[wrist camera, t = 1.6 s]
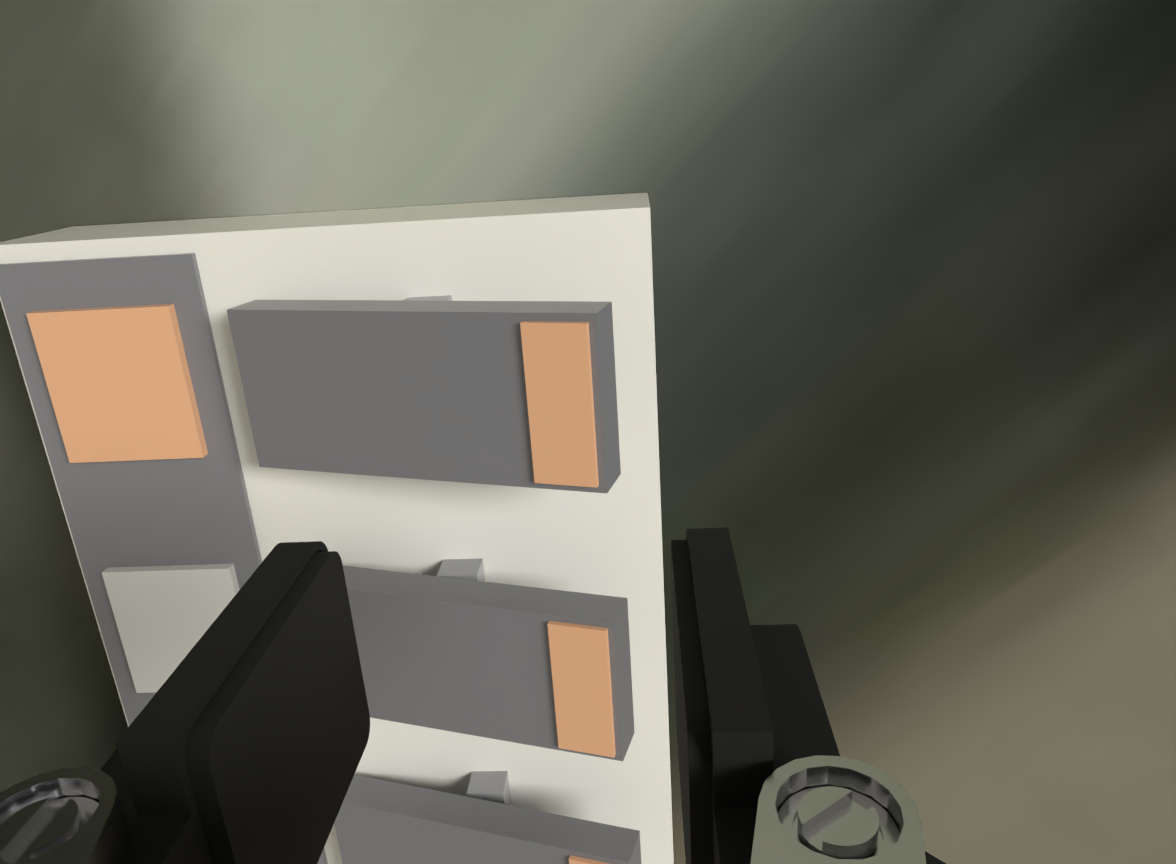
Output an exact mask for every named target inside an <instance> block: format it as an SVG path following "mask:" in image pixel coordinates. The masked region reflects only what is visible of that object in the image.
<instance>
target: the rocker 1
mask: <svg viewBox="0 0 1176 864" xmlns="http://www.w3.org/2000/svg"><path fill="white" fill-rule="evenodd" d="M227 315H228V319H229V324H230V329H231V334H232V339H233V343H234V348H235V353H236V358H237V362H238V367H239V372H240V377H241V382H242V386H243V391H244V396H245V401H246V405H247V410H248V415H249V420H250V424H251V429H252V434H253V439H254V444H255V448H256V453H257V458H258V463H259V467H266V468H279V469H292V470H305V471H318V472H331V473H345V474H358V475H371V476H384V477H397V478H410V479H423V480H436V481H450V482H463V483H476V484H489V485H502V486H515V487H528V488H541V489H554V490H568V491H581V492H594V493H608V492H609V490H610V489H611V487H612V486H613V484H614V483H615V482H616V480H617V479H618V477H619V476H620V474H621V468H620V449H619V430H618V412H617V393H616V374H615V355H614V336H613V317H612V302H587V301H410V300H254V301H251V302H248V303H245V304H242V305H239V306H236V307H233V308H230V309H227Z"/></svg>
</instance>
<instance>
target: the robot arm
mask: <svg viewBox="0 0 1176 864" xmlns="http://www.w3.org/2000/svg"><path fill="white" fill-rule="evenodd" d="M671 577H672V608H673V639H674V670H675V702H676V726H677V743H678V757H679V771H680V785H681V800H682V814H683V828H684V842H685V857H686V864H946V863H944V862H942V861H941V860H939V859H937V858H936V857H934V856H932V855H930V854H929V853H927V852H925V848H924V838H923V828H922V821H921V818H920V815H919V811H918V808H917V805H916V803H915V801H914V800H913V799H912V798H911V796H910V795H909V794H908V792H907V791H906V790H905V788H904V787H903V786H902V785H901V784H899V783H898V782H897V781H896V780H894V779H893V778H892V777H890V776H889V775H888V774H887V773H885V772H884V771H882V770H879V769H877V768H875V767H873V766H871V765H869V764H867V763H864V762H862V761H858V760H854V759H849V758H845V757H841V756H840V755H839V751H838V748H837V745H836V742H835V739H834V736H833V733H832V729H831V726H830V723H829V720H828V717H827V714H826V711H825V707H824V704H823V701H822V698H821V695H820V692H819V689H818V685H817V682H816V679H815V676H814V673H813V670H812V667H811V663H810V660H809V657H808V654H807V651H806V648H805V645H804V641H803V638H802V635H801V632H800V630H799V628H798V626H797V625H796V624H785V625H750V623H749V619H748V614H747V610H746V605H745V601H744V596H743V592H742V588H741V583H740V579H739V574H738V570H737V565H736V561H735V556H734V552H733V548H732V543H731V539H730V534H729V530H728V528H704V529H686V540H671ZM369 733H370V714H369V708H368V703H367V697H366V692H365V686H364V681H363V675H362V670H361V664H360V659H359V653H358V647H357V642H356V636H355V631H354V625H353V620H352V614H351V609H350V603H349V598H348V592H347V587H346V581H345V576H344V570H343V565H342V560H341V557H340V555H339V553H338V552H336V551H329V552H328V549H327V547H326V545H325V544H324V543H323V542H322V541H314V542H284V543H278V544H277V545H276V546H275V547H274V548H273V549H272V551H271V552H270V553H269V554H268V556H267V557H266V558H265V559H264V560H263V562H262V563H261V564H260V565H259V567H258V568H257V569H256V570H255V572H254V573H253V574H252V575H251V577H250V578H249V579H248V580H247V581H246V583H245V584H244V585H243V586H242V588H241V589H240V590H239V591H238V593H237V594H236V595H235V596H234V597H233V599H232V600H231V601H230V602H229V604H228V605H227V606H226V607H225V609H224V610H223V611H222V612H221V614H220V615H219V616H218V617H217V618H216V620H215V621H214V622H213V623H212V625H211V626H210V627H209V628H208V630H207V631H206V632H205V633H204V635H203V636H202V637H201V638H200V639H199V641H198V642H197V643H196V644H195V646H194V647H193V648H192V649H191V651H190V652H189V653H188V654H187V656H186V657H185V658H184V659H183V660H182V662H181V663H180V664H179V665H178V667H177V668H176V669H175V670H174V672H173V673H172V674H171V675H170V677H169V678H168V679H167V680H166V681H165V683H164V684H163V685H162V686H161V688H160V689H159V690H158V691H157V693H156V694H155V695H154V696H153V697H152V699H151V700H150V701H149V702H148V704H147V705H146V706H145V707H144V709H143V710H142V711H141V712H140V714H139V715H138V716H137V717H136V718H135V720H134V721H133V722H132V723H131V725H130V726H129V727H128V728H127V730H126V731H125V732H124V733H123V735H122V736H121V737H120V738H119V739H118V741H117V742H116V746H117V750H116V751H115V752H114V754H113V755H112V756H111V757H110V758H109V760H108V761H107V762H106V763H105V765H104V766H103V767H102V768H101V770H97V769H92V768H87V767H77V768H63V769H59V770H55V771H51V772H47V773H43V774H39V775H37V776H34V777H32V778H29V779H27V780H24V781H22V782H20V783H17V784H15V785H13V786H11V787H10V788H8V789H6V790H4V791H3V792H1V793H0V864H317V863H318V861H319V858H320V856H321V853H322V851H323V849H324V846H325V844H326V841H327V839H328V837H329V834H330V832H331V829H332V827H333V825H334V822H335V820H336V817H337V815H338V813H339V810H340V808H341V805H342V803H343V801H344V798H345V796H346V793H347V791H348V788H349V786H350V784H351V781H352V779H353V776H354V774H355V772H356V769H357V767H358V764H359V762H360V760H361V757H362V755H363V752H364V750H365V748H366V745H367V742H368V738H369Z"/></svg>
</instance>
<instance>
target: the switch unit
mask: <svg viewBox="0 0 1176 864" xmlns="http://www.w3.org/2000/svg"><path fill="white" fill-rule="evenodd" d="M254 300H410V301H587V302H612V317H613V336H614V355H615V374H616V393H617V412H618V430H619V449H620V468H621V474H620V476H619V477H618V479H617V480H616V482H615V483H614V484H613V486H612V487H611V489H610V490H609V492H608V493H594V492H581V491H568V490H554V489H541V488H528V487H515V486H502V485H489V484H476V483H463V482H450V481H436V480H423V479H410V478H397V477H384V476H371V475H358V474H345V473H331V472H318V471H305V470H292V469H279V468H266V467H259V463H258V458H257V453H256V448H255V444H254V439H253V434H252V429H251V424H250V420H249V415H248V410H247V405H246V401H245V396H244V391H243V386H242V382H241V377H240V372H239V367H238V362H237V358H236V353H235V348H234V343H233V339H232V334H231V329H230V324H229V319H228V315H227V309H230V308H233V307H236V306H239V305H242V304H245V303H248V302H251V301H254ZM0 301H1V305H2V308H3V311H4V315H5V318H6V321H7V325H8V328H9V331H10V335H11V338H12V341H13V345H14V348H15V351H16V355H17V358H18V361H19V365H20V368H21V371H22V375H23V378H24V381H25V385H26V388H27V391H28V395H29V398H30V401H31V405H32V408H33V411H34V415H35V418H36V421H37V425H38V428H39V431H40V435H41V438H42V441H43V445H44V448H45V451H46V455H47V458H48V461H49V465H50V468H51V471H52V475H53V478H54V481H55V485H56V488H57V491H58V495H59V498H60V501H61V505H62V508H63V511H64V515H65V518H66V521H67V525H68V528H69V531H70V535H71V538H72V541H73V545H74V548H75V551H76V555H77V558H78V561H79V564H80V568H81V571H82V574H83V578H84V581H85V584H86V588H87V591H88V594H89V598H90V601H91V604H92V608H93V611H94V614H95V618H96V621H97V624H98V628H99V631H100V634H101V638H102V641H103V644H104V648H105V651H106V654H107V658H108V661H109V664H110V668H111V671H112V674H113V678H114V681H115V684H116V688H117V691H118V694H119V698H120V701H121V704H122V708H123V711H124V714H125V718H126V721H127V724H128V727H129V726H130V725H131V723H132V722H133V721H134V720H135V718H136V717H137V716H138V715H139V714H140V712H141V711H142V710H143V709H144V707H145V706H146V705H147V704H148V702H149V701H150V700H151V699H152V697H153V696H154V695H155V694H156V693H157V691H158V690H159V689H160V688H161V686H162V685H163V684H164V683H165V681H166V680H167V679H168V678H169V677H170V675H171V674H172V673H173V672H174V670H175V669H176V668H177V667H178V665H179V664H180V663H181V662H182V660H183V659H184V658H185V657H186V656H187V654H188V653H189V652H190V651H191V649H192V648H193V647H194V646H195V644H196V643H197V642H198V641H199V639H200V638H201V637H202V636H203V635H204V633H205V632H206V631H207V630H208V628H209V627H210V626H211V625H212V623H213V622H214V621H215V620H216V618H217V617H218V616H219V615H220V614H221V612H222V611H223V610H224V609H225V607H226V606H227V605H228V604H229V602H230V601H231V600H232V599H233V597H234V596H235V595H236V594H237V593H238V591H239V590H240V589H241V588H242V586H243V585H244V584H245V583H246V581H247V580H248V579H249V578H250V577H251V575H252V574H253V573H254V572H255V570H256V569H257V568H258V567H259V565H260V564H261V563H262V562H263V560H264V559H265V558H266V557H267V556H268V554H269V553H270V552H271V551H272V549H273V548H274V547H275V546H276V545H277V544H278V543H284V542H314V541H322V542H323V543H324V544H325V545H326V547H327V549H328V552H329V551H336V552H338V553H339V555H340V557H341V560H342V565H343V566H351V567H360V568H369V569H377V570H386V571H395V572H404V573H413V574H421V575H430V576H439V577H448V578H456V579H465V580H474V581H483V582H492V583H500V584H509V585H518V586H527V587H536V588H544V589H553V590H562V591H571V592H580V593H588V594H597V595H606V596H615V597H624V598H627V600H628V619H629V638H630V657H631V676H632V695H633V714H634V735H633V738H632V740H631V743H630V745H629V748H628V750H627V753H626V755H625V758H624V760H623V761H618V760H612V759H606V758H601V757H595V756H589V755H583V754H578V753H572V752H566V751H560V750H555V749H549V748H543V747H537V746H532V745H526V744H520V743H514V742H509V741H503V740H497V739H491V738H486V737H480V736H474V735H468V734H462V733H457V732H451V731H445V730H439V729H434V728H428V727H422V726H416V725H411V724H405V723H399V722H393V721H388V720H382V719H376V718H370V733H369V738H368V742H367V745H366V748H365V750H364V752H363V755H362V757H361V760H360V762H359V764H358V767H357V769H356V772H355V775H360V776H365V777H370V778H375V779H380V780H386V781H391V782H396V783H401V784H406V785H411V786H416V787H421V788H426V789H431V790H436V791H441V792H446V793H451V794H456V795H461V796H466V797H471V798H477V799H482V800H487V801H492V802H497V803H502V804H507V805H512V806H517V807H522V808H527V809H532V810H537V811H542V812H547V813H552V814H557V815H562V816H568V817H573V818H578V819H583V820H588V821H593V822H598V823H603V824H608V825H613V826H618V827H623V828H628V829H633V830H638V831H640V846H641V864H674V860H673V832H672V804H671V777H670V749H669V721H668V694H667V666H666V638H665V610H664V583H663V555H662V527H661V499H660V472H659V444H658V416H657V388H656V361H655V333H654V305H653V278H652V250H651V222H650V205H649V199H648V193H633V194H616V195H599V196H582V197H565V198H548V199H532V200H515V201H498V202H481V203H464V204H447V205H430V206H413V207H396V208H380V209H363V210H346V211H329V212H312V213H295V214H278V215H261V216H244V217H228V218H211V219H194V220H177V221H160V222H143V223H126V224H109V225H92V226H76V227H69V228H64V229H60V230H55V231H50V232H46V233H41V234H37V235H32V236H27V237H23V238H18V239H14V240H9V241H4V242H0ZM317 864H342V859H341V854H340V849H339V844H338V840H337V835H336V830H335V825H333V827H332V829H331V832H330V834H329V837H328V839H327V841H326V844H325V846H324V849H323V851H322V853H321V856H320V858H319V861H318V863H317Z"/></svg>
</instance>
